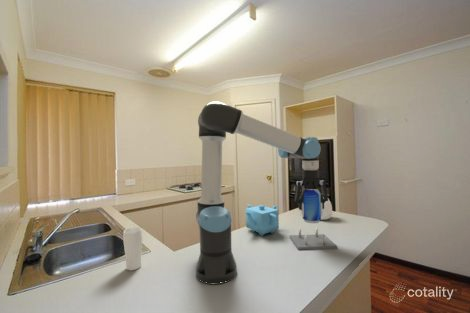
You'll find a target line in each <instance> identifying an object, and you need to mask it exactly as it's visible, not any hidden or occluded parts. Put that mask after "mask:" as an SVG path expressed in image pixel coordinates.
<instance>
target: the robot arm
mask: <svg viewBox="0 0 470 313" xmlns="http://www.w3.org/2000/svg"><path fill="white" fill-rule="evenodd" d="M197 119H198V120H197V123H198V138H199V139H200V141H201V142H202V143H201V144H202V145H201V148H202V150H201V189H200V190H201V191H200V192H201V194H200V196H201V197H200V198H198V200H197V210H196V214H195V217H196V219H195V220H196V223H197V226H198V229H199V230H198V231H199V250H200V252H199V257H198V260H197V263H196V267H195V277H196V276H197V277H196V279H197V278H198V279H199V280H198V279H197V280H198V281H200V280H201V281H203V282H207V283H220V282H225V281H228V280H230V279H232V278H233V277H234V276H235V275H236V276H237V272H238V271H237V270H238V268H237V262H236V260H235V258H234V255H233V252H232V251H233V250H232V216H231V212H230V210H229V209H228V208H227V207H225V199H223V197H222V169H223V166H222V165H223V164H222V163H223V160H222V159H223V141H225V140H226V138H227V137H226V136H227V133H229V134H230V135H235V134H239V135H241V136H244V137H247V138H250V139H252V140H255V141H257V142H260V143H262V144H265V145H268V146H271V147H273V148H276V149H277V152H278V156H279V157H280V158H281V159H301V160H302V161H301V163H302V164H301V167H302V173H301V174H302V179H301V180H297V181H296V182H295V184H296V188H295V194H294V201H295V202H296V203H297V204H298V206H297V207H298V210H299V211H300V216H301V218H303V217H304V203H302V202H303V199H304V192H305V191H306V190H307V189H311V188H312V189H318V190H319V192H320V198H321V217H322V216H323V211H322V209H324V203H325V202H326V201H328V199H329V197H328V192H327V189H326V183H327V182H326V180H323V179H322V180H320V170H319V169H320V168H319V167H320V165H319V164H320V163H319V162H320V161H319V158H320V156H319V155H320V153H321V151H322V150H321V149H322V148H321V144H320V142H319V139H318V138H317V137H316V136H315V137H314V136H310V137H308V136H307V137H301V136H298V135H296V134H294V133H291V132H288V131H286V130H283V129H281V128H279V127H276V126H273V125H271V124H269V123H266V122H264V121H261V120H259V119H256V118H254V117H251V116H249V115H247V114H244V113H243V110H241V109H239V108H236V107H234V106H233V105H230V104H227V103H224V102H221V101H211V102H208V103H207V104H206V105H204V107H203V108H202V110H201V112H200V113H199V115H198V118H197ZM302 185H303V189H302V191H301V188H302V187H301V186H302ZM319 185H320V189H321V191H320V189H319ZM236 276H235V277H236ZM235 277H234V278H235ZM234 278H233V279H234ZM233 279H232V280H233ZM201 281H200V282H201ZM230 281H231V280H230ZM203 282H202V283H203ZM228 282H229V281H228ZM225 283H226V282H225Z"/></svg>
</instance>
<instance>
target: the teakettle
mask: <svg viewBox="0 0 470 313" xmlns="http://www.w3.org/2000/svg"><path fill="white" fill-rule="evenodd" d="M246 206H247V208H245V211H244V212H243V214H245V221H246V222H245V223H246V224H245V228H247V229H250V232H251V231H252V232H251V233H256V232H257V233H258V236H259V235H262V236H261V237H264V236H265V234H269V232H270V234H273V233H275V231H278V230H279V228H280V227H279V224H280V223H279V219H280V218H279V210H278V209H277V207H278V206H279V205H277V204H276V205H273V206H272V207H269V206H265V205H264V204H259V205H257V206H252V205H251V204H249V203H247V204H246ZM255 231H256V232H255ZM263 235H264V236H263Z"/></svg>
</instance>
